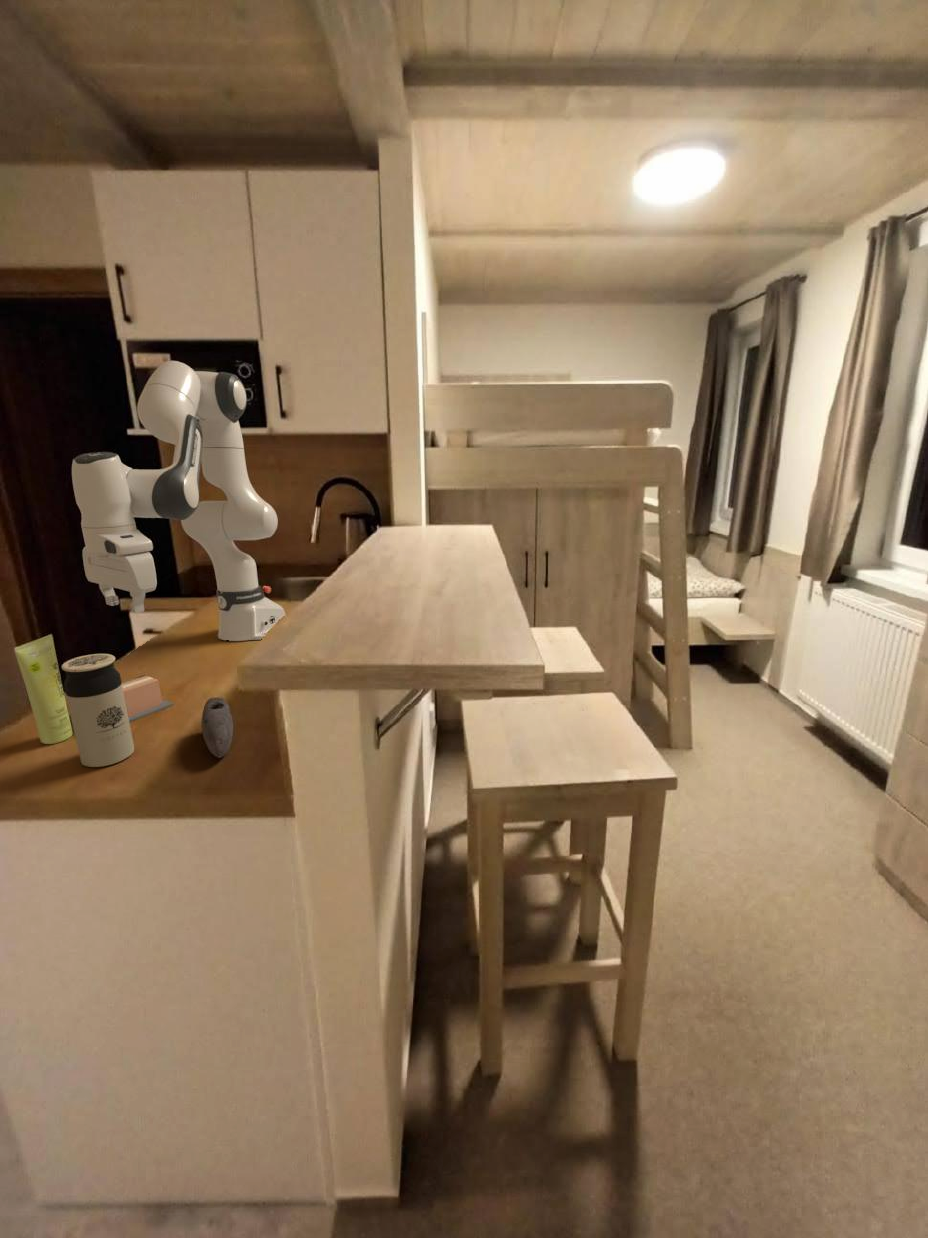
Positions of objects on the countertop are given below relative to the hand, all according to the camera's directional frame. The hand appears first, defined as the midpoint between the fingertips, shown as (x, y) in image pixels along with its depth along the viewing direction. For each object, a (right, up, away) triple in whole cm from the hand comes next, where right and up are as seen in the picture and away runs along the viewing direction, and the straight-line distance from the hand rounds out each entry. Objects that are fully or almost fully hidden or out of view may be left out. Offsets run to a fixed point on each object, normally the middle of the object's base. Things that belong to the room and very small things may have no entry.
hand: (125, 608), depth 109 cm
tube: (-8, -25, -8) cm, 27 cm away
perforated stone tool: (+23, -26, -10) cm, 36 cm away
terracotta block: (+1, -21, +4) cm, 21 cm away
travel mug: (+6, -27, -14) cm, 30 cm away
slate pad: (+1, -21, +4) cm, 22 cm away
